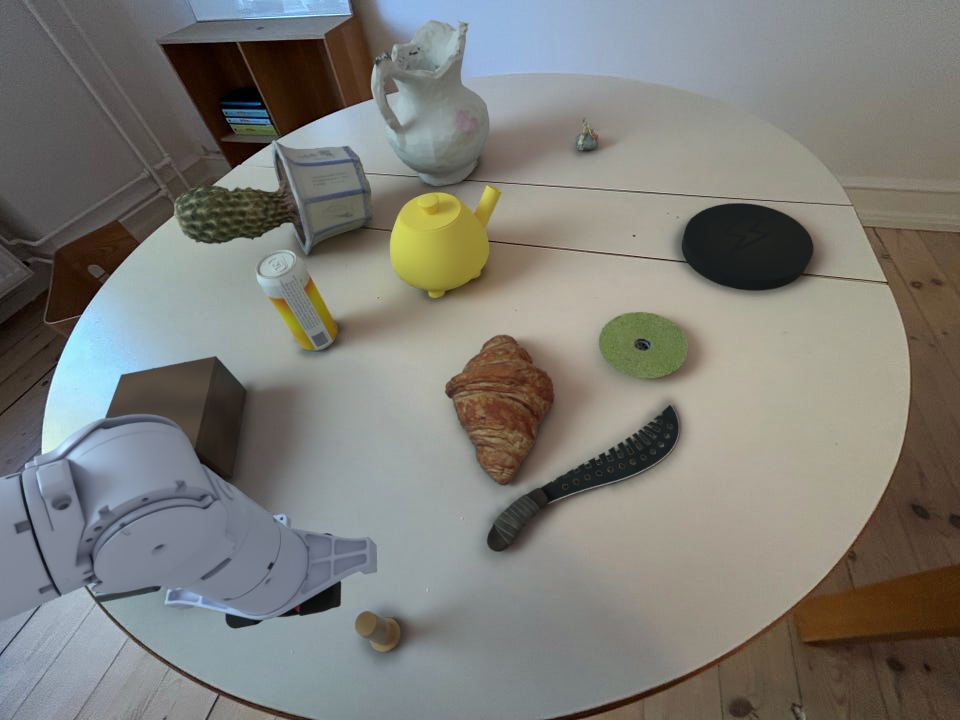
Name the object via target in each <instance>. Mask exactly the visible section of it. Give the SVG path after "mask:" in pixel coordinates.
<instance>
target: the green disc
mask: <svg viewBox="0 0 960 720" xmlns="http://www.w3.org/2000/svg"><path fill="white" fill-rule="evenodd" d="M688 345H689V344H688V341H687V338H686V336H685V335H684V333H683V332H682V330H681V328H680V327H679V326H678V325H676V324H675V323H674V322H672V321H671V320H669V319H668V318H666V317H664V316H662V315H659V314H656V313H653V312H648V311H647V312H645V311H636V312H626V313H623V314H620V315H618V316H616V317H613V318H612V319H611V320H609V321H608V322H607V323H606V324H605V325H604V326H603V327H602V329H601V331H600V333H599V337H598V346H599V351H600V353H601V354H602V357H603V358H604V360H605V361H606V362H607V363H608V364H609V365H610V366H612V368H614V369H615V370H617V371H619V372H621V373H623V374H625V375H627V376H630V377H634V378H639V379H649V380H650V379H656V378H661V377H665V376H667V375H671V374H672V373H674V372H676V371H677V370H679V368H680V367H681V366H682V365H683V364H684V363H685V361H686V358H687V356H688V351H689V347H688Z"/></svg>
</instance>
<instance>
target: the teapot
mask: <svg viewBox="0 0 960 720" xmlns="http://www.w3.org/2000/svg"><path fill="white" fill-rule="evenodd" d="M502 193H503V191H502V190H501V189H499V188H498V187H496V186H494V185H490V184H487V185H486V186H485V189H484V191H483V193H482V195H481V197H480V200H479V202H478V205H477V206H476V208H475V211H474V212H473V211H472V210H471V209H470V207H468V206H467V205H466V204H465V203H464V202H463V201H462V200H460V199H459V198H458V197H456V196H454V195H452V194H450V193H446V192H428V193H424V194H421V195H418V196H416V197H414V198H412V199H410V200H409V201H408V202H406V203H405V204H404V205H403V206H402V208H401V209H400V211H399V213H398V215H397V217H396V220H395V222H394V225H393V228H392V230H391V234H390V239H389V258H390V262H391V266H392V269H393V271H394V273H395V274H396V276H398V278H399V279H400V280H401V281H402V282H404V283H405V284H407V285H409V286H411V287H414V288H416V289H420V290H422V291H427V294H428V296H429V297H430V298H432V299H438V298H442V297H443V296H444V295H445V293H446V291H449V290H453V289H456V288H459V287H461V286H463V285H465V284H467V283H468V282H469V281H471V280H473V279H477V278H478V277H480V276H481V272H482V269H483V268H484V267H485V265H486V262H487V261H488V259H489V255H490V244H489V238H488V236H487V233H486V228H487V225H488V223H489V221H490V219H491V217H492V215H493V213H494V210H495V208H496V206H497V203H498V202H499V199H500V198H501V195H502Z"/></svg>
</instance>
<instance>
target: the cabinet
mask: <svg viewBox="0 0 960 720" xmlns="http://www.w3.org/2000/svg"><path fill="white" fill-rule="evenodd" d="M247 392H248V390H247V389H246V388H245V386H244V384H242V383H241V382H240V381H239V380H238V379H237V377H236V376H235V375H234V374H233V373H232V372H231V370H229V369H228V367H226V365H225V364H224V363H223V362H222V361H221V360H220V359H219V357H218V356H217V355H215V356H214V355H213V356H208V357H204V358H198V359H193V360H189V361H183V362H179V363H174V364H168V365H163V366H158V367H153V368H148V369H142V370H139V371H138V370H137V371H132V372H128V373H123V374H120V376H119V379H118V381H117V384H116V387H115V390H114V393H113V395H112V398H111V401H110V402H109V403H110V404H109V406H108V409H107V411H106V414H105V417H104V418H116V417H120V416H125V415H133V414H150V415H157V416H161V417H165V418H167V419H170V420H172V421H173V422H175V423H176V424H177V425H178V426H179V427H180V428H181V429H182V431H183V432H184V434H185V435H186V436H187V437H188V439H189V441H190V443H191V445H192V447H193V449H194V451H195V453H196V455H197V457H198V458H199V459H201V460H202V461H203V462H205V463H206V464H207V465H209V466H210V467H211V468H212V469H214V470H215V471H216V472H217V475H218V476H219V477H220V478H222V479H223V480H226V479H227V480H228V479H231V478H232V477H233V472H234V468H235V461H236V456H237V450H238V444H239V438H240V431H241V425H242V420H243V414H244V413H243V412H244V410H245V409H244V408H245V403H246V396H247Z"/></svg>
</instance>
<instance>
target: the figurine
mask: <svg viewBox="0 0 960 720" xmlns="http://www.w3.org/2000/svg"><path fill="white" fill-rule="evenodd" d="M582 123H583V125H582V126H583V128H582V132H580V133H578V134H577V135H576V136H575V145H576V147H577V150H578V151H585V150H587V151H589V150H592V151H593V150H595V149H596V148H597V146H598V141H599V134H598V133H596V132H597V130H595V129H594V128H593V127H592V126H590V125H589V122H588V121H587V118H586V117H584V118H583V120H582Z"/></svg>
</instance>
